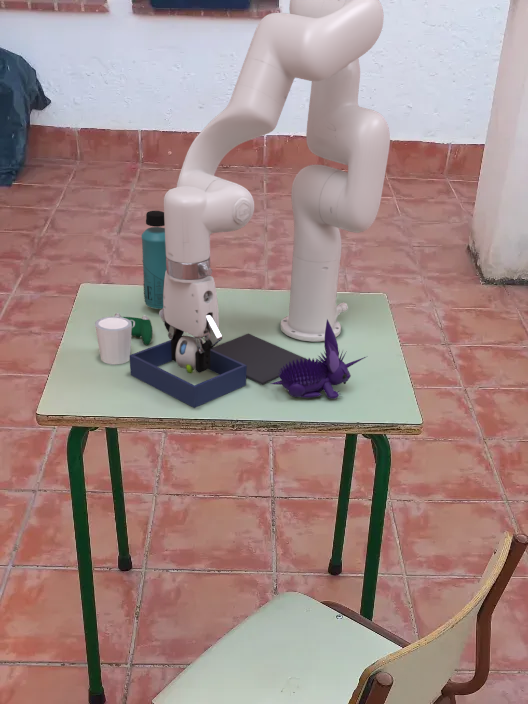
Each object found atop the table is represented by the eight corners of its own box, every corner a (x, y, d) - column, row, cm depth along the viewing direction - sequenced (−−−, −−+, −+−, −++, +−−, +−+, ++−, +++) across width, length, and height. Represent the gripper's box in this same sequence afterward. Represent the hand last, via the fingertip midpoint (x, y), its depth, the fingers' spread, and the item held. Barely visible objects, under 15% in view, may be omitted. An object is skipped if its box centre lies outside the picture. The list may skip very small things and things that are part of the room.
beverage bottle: (180, 309, 191) (179, 211, 179) (162, 318, 187) (159, 219, 174) (156, 301, 194) (153, 205, 181) (137, 311, 190) (132, 212, 177)
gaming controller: (152, 350, 179) (156, 321, 180) (149, 342, 175) (153, 313, 176) (107, 346, 180) (111, 317, 180) (103, 338, 176) (107, 309, 176)
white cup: (94, 352, 173) (91, 317, 169) (128, 348, 175) (126, 314, 171) (101, 367, 168) (99, 332, 164) (137, 363, 170) (135, 328, 166)
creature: (368, 402, 163) (377, 338, 155) (270, 403, 161) (274, 338, 153) (359, 380, 170) (367, 318, 162) (265, 381, 168) (268, 318, 160)
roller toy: (172, 372, 163) (171, 342, 160) (185, 358, 168) (184, 328, 164) (195, 376, 162) (194, 347, 159) (207, 362, 167) (207, 332, 163)
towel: (248, 335, 183) (248, 333, 182) (311, 363, 174) (311, 360, 174) (198, 355, 175) (198, 352, 174) (262, 385, 166) (262, 382, 166)
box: (182, 355, 174) (182, 335, 172) (246, 385, 166) (246, 365, 163) (130, 375, 166) (129, 355, 164) (194, 408, 158) (194, 387, 155)
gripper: (239, 275, 151) (238, 373, 163) (170, 247, 159) (174, 343, 171) (207, 286, 146) (209, 387, 158) (138, 258, 155) (144, 355, 167)
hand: (191, 363), depth 165 cm, fingers closed on roller toy, 5 cm apart
